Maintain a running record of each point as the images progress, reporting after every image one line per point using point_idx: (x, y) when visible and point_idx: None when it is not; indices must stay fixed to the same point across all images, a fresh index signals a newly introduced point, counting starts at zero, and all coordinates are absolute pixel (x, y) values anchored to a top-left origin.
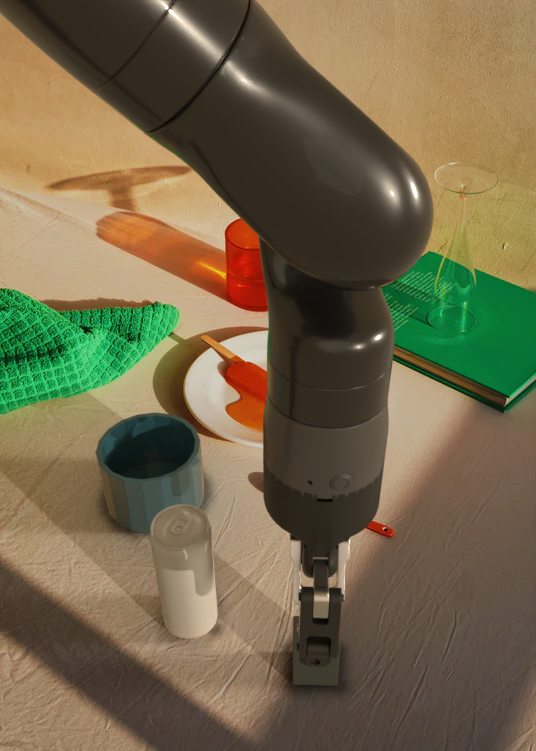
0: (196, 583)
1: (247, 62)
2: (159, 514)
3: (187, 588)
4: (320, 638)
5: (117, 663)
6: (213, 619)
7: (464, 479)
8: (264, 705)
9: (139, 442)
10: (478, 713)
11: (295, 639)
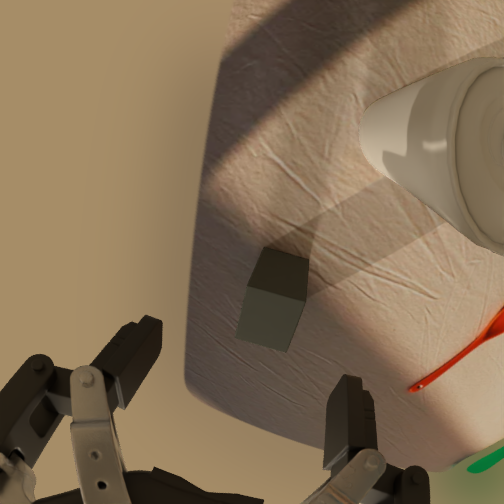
0: (392, 156)
1: None
2: None
3: (386, 133)
4: (45, 403)
5: (342, 28)
6: (375, 167)
7: (424, 441)
8: (244, 207)
9: None
10: (208, 381)
11: (262, 293)
